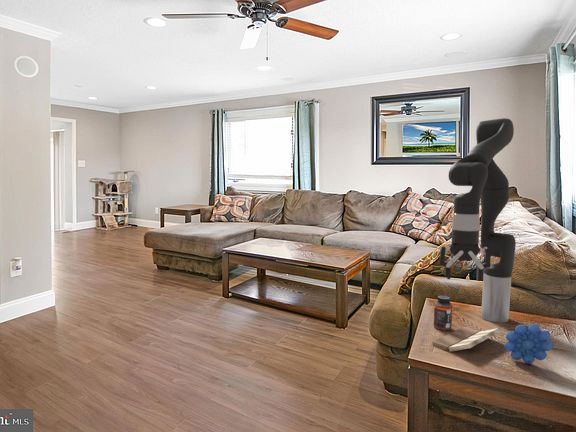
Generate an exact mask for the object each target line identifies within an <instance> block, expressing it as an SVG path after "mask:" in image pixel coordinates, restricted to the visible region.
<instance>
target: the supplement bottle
mask: <svg viewBox="0 0 576 432" xmlns="http://www.w3.org/2000/svg"><path fill="white" fill-rule="evenodd" d="M450 301H451V298H450V296H446V295H438V296H437V301H436V302H435V303H434V309H433V311H434V312H433V327H434V328H435V329H437V330H440V331H450V330H451V329H452V325H453V323H452V322H453V308H454V307H453V304H452V303H451V302H450Z"/></svg>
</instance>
